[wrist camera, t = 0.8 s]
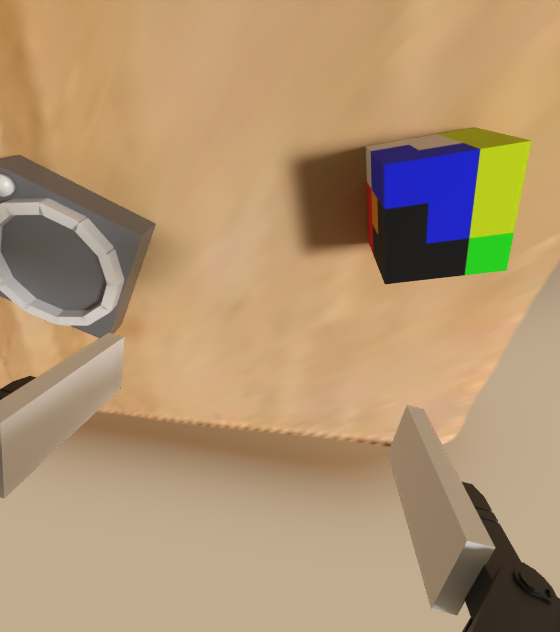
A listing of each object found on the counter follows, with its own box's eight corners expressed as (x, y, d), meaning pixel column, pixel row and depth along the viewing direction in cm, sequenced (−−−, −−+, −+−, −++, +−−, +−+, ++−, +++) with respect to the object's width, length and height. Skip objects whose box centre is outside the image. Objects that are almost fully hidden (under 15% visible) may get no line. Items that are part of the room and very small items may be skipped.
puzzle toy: (365, 146, 34) (383, 164, 26) (474, 127, 33) (531, 140, 24) (368, 242, 40) (384, 284, 31) (462, 230, 38) (506, 270, 30)
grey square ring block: (19, 155, 37) (-22, 164, 32) (155, 224, 40) (135, 241, 35) (7, 274, 45) (-27, 295, 40) (121, 323, 48) (101, 348, 43)
